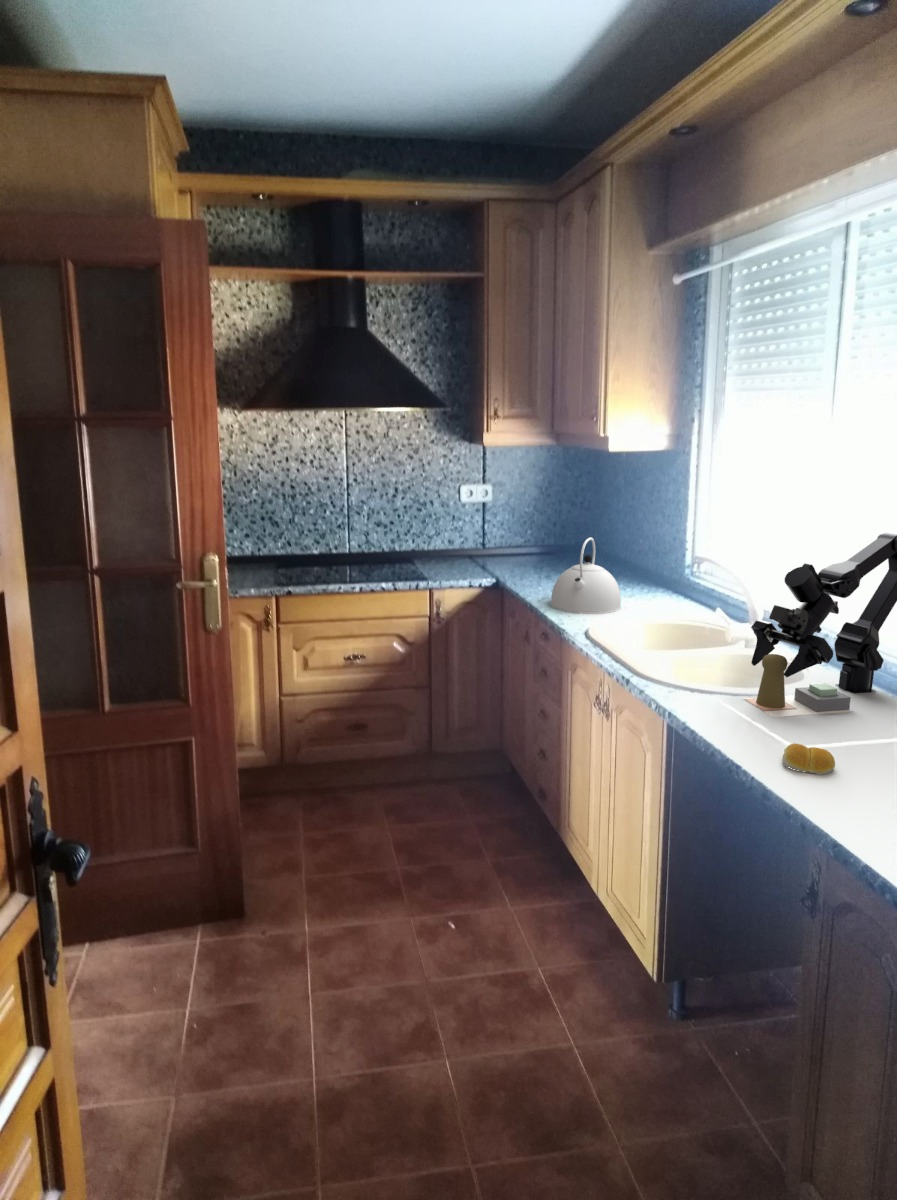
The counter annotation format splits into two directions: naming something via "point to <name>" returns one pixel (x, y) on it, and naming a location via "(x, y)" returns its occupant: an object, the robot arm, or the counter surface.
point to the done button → (822, 690)
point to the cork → (772, 682)
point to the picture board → (798, 711)
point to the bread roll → (808, 759)
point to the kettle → (586, 588)
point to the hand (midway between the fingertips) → (768, 670)
